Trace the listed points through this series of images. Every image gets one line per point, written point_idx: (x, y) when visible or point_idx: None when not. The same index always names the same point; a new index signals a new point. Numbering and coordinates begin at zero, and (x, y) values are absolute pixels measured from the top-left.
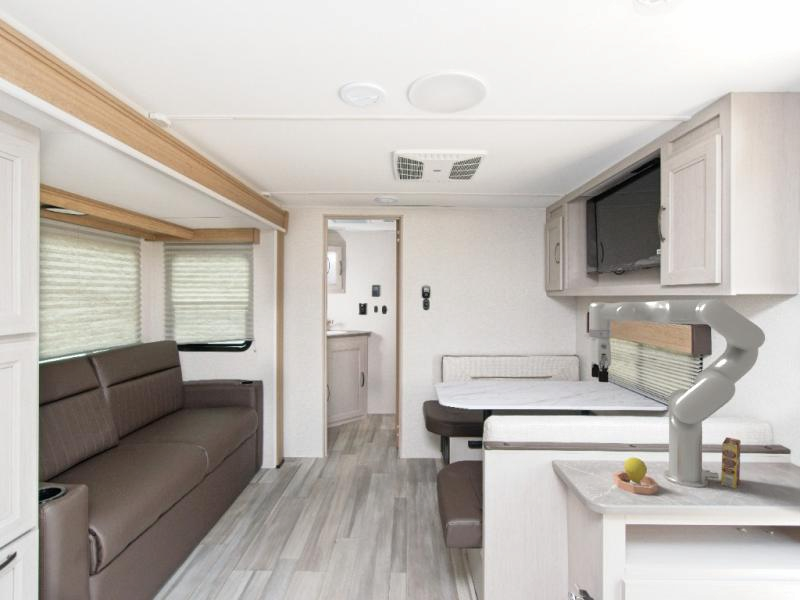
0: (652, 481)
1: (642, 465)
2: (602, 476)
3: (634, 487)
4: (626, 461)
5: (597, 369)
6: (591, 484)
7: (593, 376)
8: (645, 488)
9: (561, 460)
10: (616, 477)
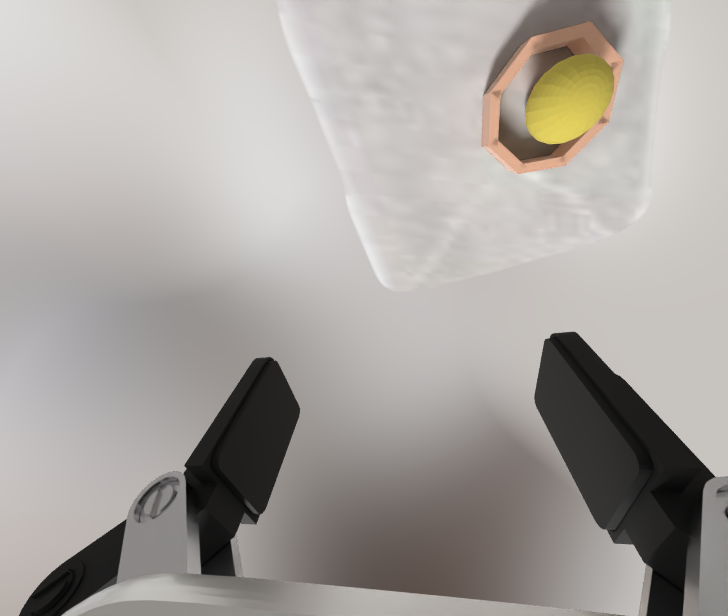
0: (568, 41)
1: (612, 73)
2: (468, 196)
3: (607, 119)
4: (567, 136)
5: (249, 456)
6: (524, 228)
7: (297, 406)
8: (616, 80)
9: (390, 283)
10: (541, 168)
